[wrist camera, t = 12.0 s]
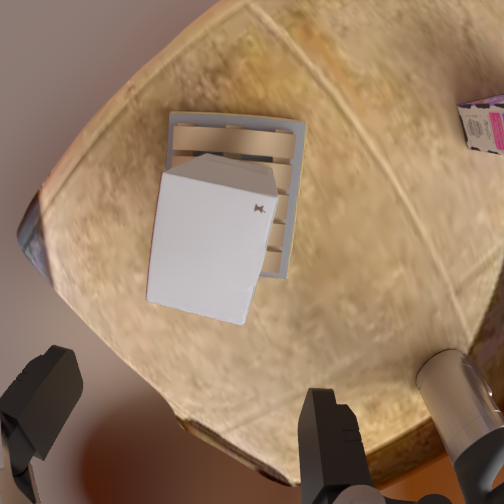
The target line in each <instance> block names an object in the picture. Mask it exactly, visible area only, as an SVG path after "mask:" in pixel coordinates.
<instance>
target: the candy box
mask: <svg viewBox="0 0 504 504" xmlns="http://www.w3.org/2000/svg"><path fill="white" fill-rule="evenodd" d="M457 107H458V111H459V115H460V118H461V121H462V125H463V129H464V133H465V138H466V141H467V145H468V148H469V149H472V150H478V151H483V152H489V153H494V154H499V155H503V156H504V94H503V95H498V96H493V97H490V98H486V99H482V100H478V101H474V102H469V103H465V104H461V105H457Z"/></svg>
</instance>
